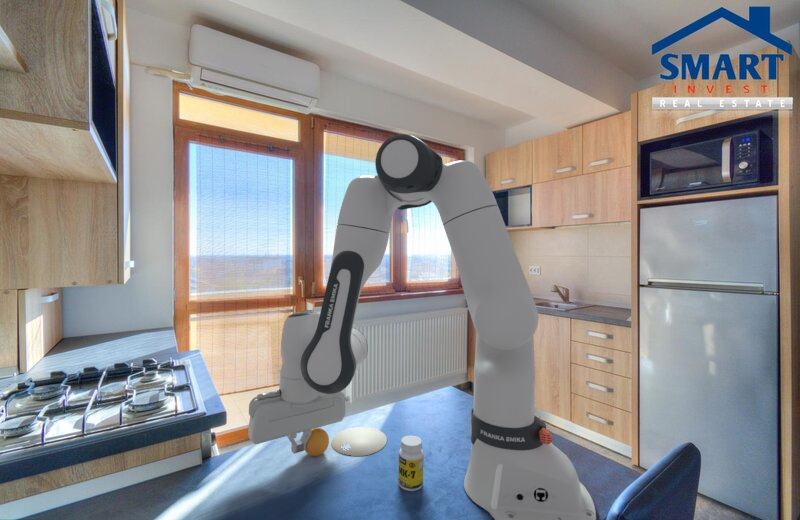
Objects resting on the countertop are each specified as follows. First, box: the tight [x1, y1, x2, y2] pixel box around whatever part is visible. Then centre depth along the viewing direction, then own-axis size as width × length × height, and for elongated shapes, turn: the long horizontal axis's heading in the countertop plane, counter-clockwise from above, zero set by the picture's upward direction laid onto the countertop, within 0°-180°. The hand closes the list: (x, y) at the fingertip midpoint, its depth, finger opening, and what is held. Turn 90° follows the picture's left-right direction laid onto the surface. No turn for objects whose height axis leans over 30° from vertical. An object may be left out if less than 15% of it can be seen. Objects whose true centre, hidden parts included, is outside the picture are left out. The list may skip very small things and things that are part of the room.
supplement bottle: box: [397, 435, 425, 492], centre depth 67 cm, size 5×5×8 cm
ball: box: [304, 427, 330, 457], centre depth 77 cm, size 6×6×6 cm
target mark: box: [331, 426, 388, 457], centre depth 82 cm, size 13×13×1 cm
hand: (298, 450), depth 74 cm, fingers closed
